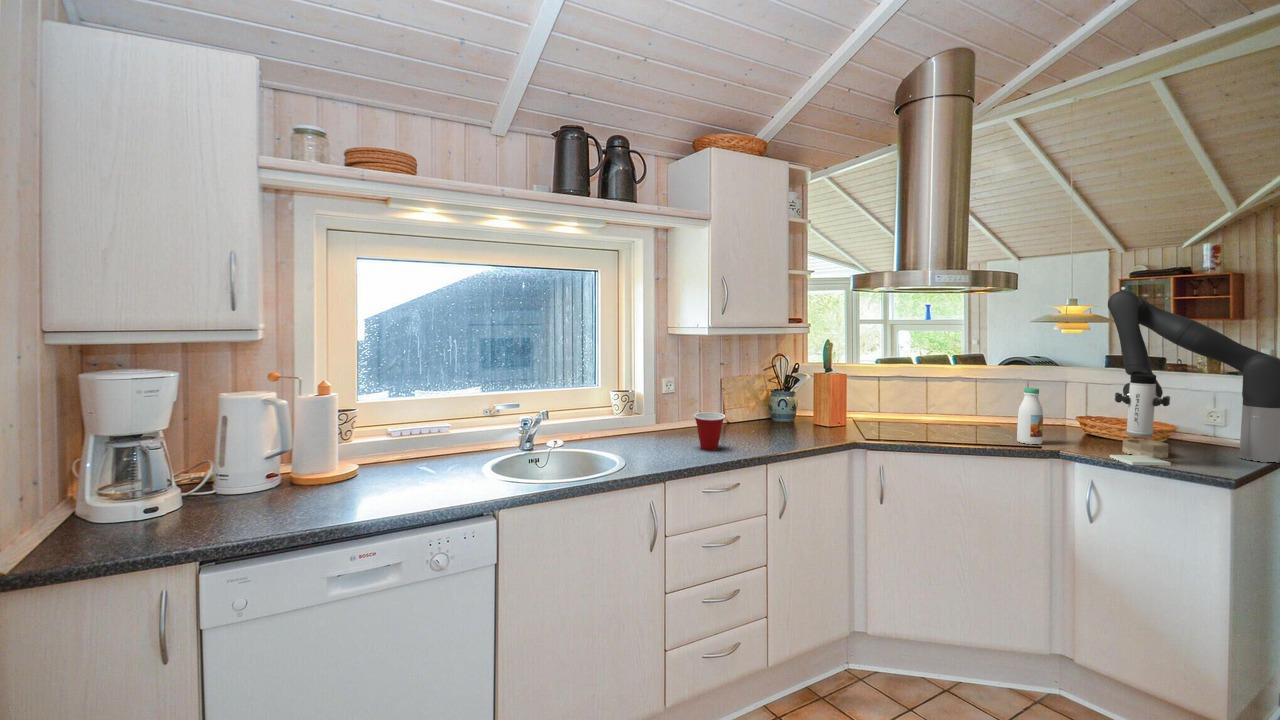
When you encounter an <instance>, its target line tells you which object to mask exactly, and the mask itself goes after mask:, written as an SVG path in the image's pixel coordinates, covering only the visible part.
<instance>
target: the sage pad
mask: <svg viewBox="0 0 1280 720" xmlns="http://www.w3.org/2000/svg"><path fill="white" fill-rule="evenodd" d="M1110 457H1111V458H1110ZM1109 458H1110V459H1112V458H1114V459H1113V460H1115V459H1116V460H1115V461H1118V460H1119V461H1118V462H1121V463H1124V464H1128V465H1131V466H1150V465H1159V466H1160V467H1166V466H1167V467H1171V466H1172V465H1171V464H1172V463H1171V462H1170V461H1166V460H1164V459H1163V460H1162V459H1161V458H1153V457H1150V456H1146V455H1129V454H1109Z"/></svg>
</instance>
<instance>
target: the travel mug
mask: <svg viewBox="0 0 1280 720" xmlns="http://www.w3.org/2000/svg"><path fill="white" fill-rule="evenodd" d="M1129 379H1130V381H1129V383H1130V388H1129V404H1127V405H1128V406H1127V408H1128V409H1127V420H1126V422H1127V423H1126V435H1127V436H1129V437H1135V438H1140V439H1142V438H1144V439H1146V438H1147V439H1149V438H1152V437H1153V435H1154V434H1153V433H1154V432H1153V431H1154V420H1155V419H1154V418H1155V406H1154V404H1155V392H1156V386H1155V385H1156V380H1157V375H1156V374H1154V373H1153V374H1150V373H1143V372H1140V371H1133V372H1132V373H1131V375H1130V378H1129Z"/></svg>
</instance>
